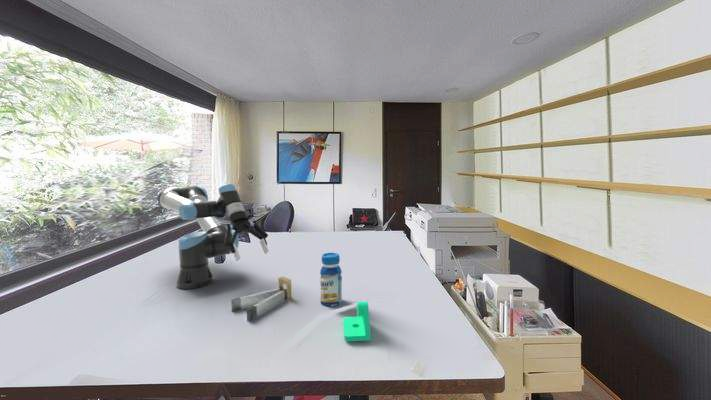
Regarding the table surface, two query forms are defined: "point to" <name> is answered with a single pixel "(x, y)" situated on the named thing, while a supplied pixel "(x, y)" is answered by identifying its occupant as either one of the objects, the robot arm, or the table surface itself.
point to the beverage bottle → (331, 280)
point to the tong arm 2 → (265, 305)
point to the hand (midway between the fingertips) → (253, 255)
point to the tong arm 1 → (251, 299)
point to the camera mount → (358, 324)
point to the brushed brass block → (288, 286)
